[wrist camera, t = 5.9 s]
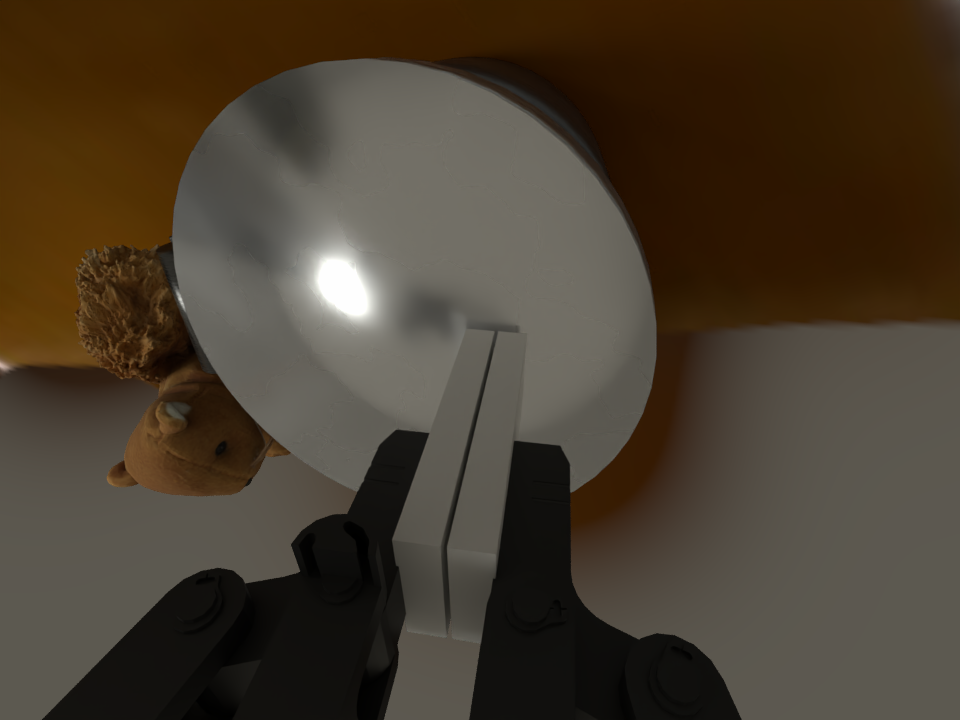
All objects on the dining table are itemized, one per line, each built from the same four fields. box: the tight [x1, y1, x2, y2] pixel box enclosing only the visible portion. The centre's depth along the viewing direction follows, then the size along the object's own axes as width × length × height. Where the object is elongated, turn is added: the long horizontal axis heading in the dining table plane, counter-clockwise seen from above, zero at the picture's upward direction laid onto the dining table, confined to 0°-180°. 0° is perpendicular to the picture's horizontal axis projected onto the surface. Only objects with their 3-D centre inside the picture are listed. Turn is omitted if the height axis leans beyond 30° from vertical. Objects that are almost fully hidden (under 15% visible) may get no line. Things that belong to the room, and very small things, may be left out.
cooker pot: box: [169, 57, 611, 242], centre depth 21 cm, size 15×14×12 cm
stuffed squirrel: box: [75, 244, 291, 496], centre depth 26 cm, size 10×14×13 cm
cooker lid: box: [156, 57, 656, 493], centre depth 15 cm, size 15×15×1 cm
